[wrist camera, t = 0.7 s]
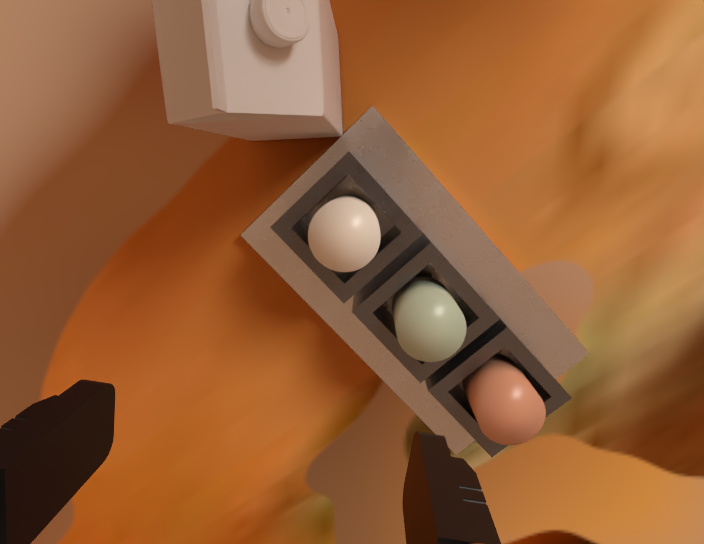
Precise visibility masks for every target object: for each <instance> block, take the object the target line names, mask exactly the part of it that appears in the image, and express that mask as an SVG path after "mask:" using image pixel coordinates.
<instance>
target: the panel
mask: <svg viewBox="0 0 704 544" xmlns="http://www.w3.org/2000/svg"><path fill="white" fill-rule="evenodd" d="M341 195H354V196H358V197H360V198H362V199H364V200H366V201H367V202H368V203H369V204H370V205H371V206H372V207H373V209H374V210H375V212H376V214H377V217H378V222H379V227H380V233H381V239H380V245H379V248H378V251H377V253H376V255H375V256H374V258H373V259H372V260H371V261H370V262H369V263H368V264H367V265H366V266H364V267H362V268H360V269H358V270H355V271H351V272H338V271H334V270H331V269H329V268H327V267H325V266H324V265H322V264H321V263H320V262H319V261H318V260H317V259H316V258H315V257H314V255H313V253H312V251H311V249H310V246H309V242H308V229H309V225H310V222H311V220H312V218H313V216H314V215H315V214H316V212H317V211H318V210H319V209H320V208H321V207H323V206H324V205H325V204H326V203H327V202H328V201H330V200H331V199H333V198H335V197H337V196H341ZM241 236H242V237H243V238H244V239H245V240H246V241H247V243H248V244H249V245H250V246H251V247H252V248H253V249H254V250H255V251H256V252H257V253H258V254H259V255H260V256H261V257H262V258H263V259H264V260H265V261H266V262H267V263H268V264H269V265H270V266H271V267H272V268H273V269H274V270H275V271H276V272H277V273H278V274H279V275H280V276H281V277H282V278H283V279H284V280H285V281H286V282H287V283H288V284H289V285H290V286H291V287H292V288H293V289H294V290H295V291H296V292H297V293H298V294H299V296H300V297H301V298H302V299H303V300H304V301H305V302H306V303H307V304H308V305H309V306H310V307H311V308H312V309H313V310H314V311H315V312H316V313H317V314H318V315H319V316H320V317H321V318H322V319H323V320H324V321H325V322H326V323H327V324H328V325H329V326H330V327H331V328H332V329H333V330H334V331H335V332H336V333H337V334H338V335H339V336H340V337H341V338H342V339H343V340H344V341H345V342H346V343H347V344H348V345H349V346H350V348H351V349H352V350H353V351H354V352H355V353H356V354H357V355H358V356H359V357H360V358H361V359H362V360H363V361H364V362H365V363H366V364H367V365H368V366H369V367H370V368H371V369H372V370H373V371H374V372H375V373H376V374H377V375H378V376H379V377H380V378H381V379H382V380H383V381H384V382H385V383H386V384H387V385H388V386H389V387H390V388H391V389H392V390H393V391H394V392H395V393H396V394H397V395H398V396H399V397H400V398H401V399H402V400H403V402H404V403H405V404H407V406H408V407H409V408H410V409H411V410H412V411H413V412H414V413H415V414H416V415H417V416H418V417H419V418H420V419H421V420H422V421H423V422H424V423H425V424H426V425H427V426H428V427H429V428H430V429H431V430H432V431H433V432H434V433H435V434H436V435H442V436H445V438H446V442H447V445H448V447H449V448H450V449H451V450H452V451H453V453H454V454H455V455H457V454H458V453H459V452H461V451H462V450H463V449H465V448H466V447H467V446H469V445H470V444H471V443H473V442H474V441H475V440H476V441H477V442H478V443H479V444H480V445H481V446H482V447H483V449H484V450H485V451H486V452H487V453H488V454H489V455H490V456H491V457H493V456H494V455H496V454H497V453H498V452H500V451H501V450H502V449H504V448H505V447H507V446H508V445H503V444H499V443H496V442H494V441H492V440H490V439H489V438H488V437H486V436H485V435H484V433H483V432H482V430H481V429H480V427H479V424H478V422H477V420H476V417H475V415H474V413H473V410H472V408H471V405H470V403H469V401H468V398H467V396H466V394H465V391H464V389H463V385H462V380H463V379H465V378H466V377H467V376H468V375H470V374H471V373H472V372H473V371H475V370H476V369H477V368H478V367H480V366H481V365H482V364H483V363H485V362H486V361H487V360H488V359H490V358H491V357H492V356H494V355H495V354H502V355H504V356H507V357H509V358H510V359H511V360H513V361H514V362H515V364H516V365H517V366H518V368H519V369H520V370H521V372H522V373H523V374H524V376H525V377H526V378H527V380H528V381H529V382H530V384H531V385H532V386H533V388H534V389H535V390H536V392H537V393H538V394H539V396H540V397H541V399H542V400H543V402H544V405H545V409H546V417H547V416H548V415H550V414H551V413H552V412H554V411H555V410H556V409H558V408H559V407H560V406H562V405H563V404H564V403H566V402H567V401H568V400H570V399H571V397H570V395H569V394H568V393H567V392H566V391H565V390H564V389H563V387H562V386H561V385H560V384H559V383H558V382H557V381H556V379H557V378H558V377H560V376H561V375H562V374H564V373H565V372H566V371H567V370H569V369H570V368H571V367H573V366H574V365H575V364H577V363H578V362H579V361H581V360H582V359H583V358H585V357H586V356H587V355H589V354H590V353H589V352H588V351H587V350H586V349H585V347H584V346H583V345H582V344H581V343H580V342H579V341H578V339H577V338H576V337H575V336H574V335H573V334H572V333H571V331H570V330H569V329H568V328H567V327H566V326H565V325H564V323H563V322H562V321H561V320H560V319H559V318H558V317H557V316H556V314H555V313H554V312H553V311H552V310H551V309H550V308H549V306H548V305H547V304H546V303H545V302H544V301H543V299H542V298H541V297H540V296H539V295H538V294H537V293H536V292H535V290H533V288H532V287H531V286H530V285H529V283H528V282H527V281H526V280H525V279H524V278H523V277H522V276H521V274H520V273H519V272H518V271H517V270H516V269H515V267H514V266H513V265H512V264H511V263H510V262H509V261H508V259H507V258H506V257H505V256H504V255H503V254H502V253H501V251H500V250H499V249H498V248H497V247H496V246H495V245H494V243H493V242H492V241H491V240H490V239H489V238H488V237H487V235H486V234H485V233H484V232H483V231H482V230H481V229H480V227H479V226H478V225H477V224H476V223H475V222H474V221H473V219H472V218H471V217H470V216H469V215H468V214H467V213H466V211H465V210H464V209H463V208H462V207H461V206H460V205H459V203H458V202H457V201H456V200H455V199H454V198H453V197H452V195H451V194H450V193H449V192H448V191H447V190H446V189H445V187H444V186H443V185H442V184H441V183H440V182H439V181H438V179H437V178H436V177H435V176H434V175H433V174H432V173H431V172H430V170H429V169H428V168H427V167H426V166H425V165H424V164H423V162H422V161H421V160H420V159H419V158H418V157H417V156H416V154H415V153H414V152H413V151H412V150H411V149H410V148H409V146H408V145H407V144H406V143H405V142H404V141H403V140H402V138H401V137H400V136H399V135H398V134H397V133H396V132H395V130H394V129H393V128H392V127H391V126H390V125H389V124H388V122H387V121H386V120H385V119H384V118H383V117H382V116H381V114H380V113H379V112H378V111H377V110H376V109H375V108H374V106H372V107H371V108H370V109H369V110H368V111H367V112H366V113H365V114H364V115H363V116H362V117H361V118H360V119H359V120H358V121H357V122H355V123H354V124H353V125H352V126H351V127H350V128H349V129H348V130H347V131H346V132H345V133H344V134H343V135H342V136H341V137H340V138H339V139H338V140H337V141H336V142H335V143H334V144H333V145H332V146H331V147H330V148H329V149H328V150H327V151H326V152H325V153H324V154H323V155H322V156H321V157H320V158H319V159H318V160H317V161H316V162H315V163H314V164H313V165H312V166H310V167H309V168H308V169H307V170H306V171H305V172H304V173H303V174H302V175H301V176H300V177H299V178H298V179H297V180H296V181H295V182H294V183H293V184H292V185H291V186H290V187H289V188H288V189H287V190H286V191H285V192H284V193H283V194H282V195H281V196H280V197H279V198H278V199H277V200H276V201H275V202H274V203H273V204H272V205H271V206H270V207H269V208H268V209H267V210H266V211H264V212H263V213H262V214H261V215H260V216H259V217H258V218H257V219H256V220H255V221H254V222H253V223H252V224H251V225H250V226H249V227H248V228H247V229H246V230H245V231H244V232H243V233H242V234H241ZM416 277H429V278H433V279H436V280H438V281H439V282H441V283H442V284H443V285H444V286H445V287H446V288H447V289H448V291H449V293H450V294H451V296H452V297H453V299H454V300H455V302H456V303H457V305H458V307H459V308H460V310H461V311H462V313H463V315H464V317H465V321H466V336H465V339H464V341H463V343H462V345H461V347H460V348H459V349H458V350H457V351H456V352H455V353H454V354H453V355H451V356H450V357H448V358H446V359H444V360H441V361H437V362H424V361H420V360H417V359H415V358H413V357H411V356H410V355H408V354H407V353H406V352H405V351H404V350H403V349H402V347H401V346H400V344H399V342H398V339H397V335H396V329H395V323H394V317H393V311H392V301H393V297H394V295H395V293H396V292H397V291H398V290H399V289H400V288H402V287H403V286H404V285H405V284H406V283H407V282H408V281H410V280H411V279H412V278H416Z"/></svg>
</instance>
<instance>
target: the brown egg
mask: <svg viewBox="0 0 704 544" xmlns="http://www.w3.org/2000/svg"><path fill="white" fill-rule="evenodd" d="M462 385H463V389H464V391H465V394H466V396H467V398H468V401H469V403H470V405H471V408H472V410H473V413H474V415H475V417H476V420H477V422H478V424H479V427H480V429H481V430H482V432H483V433H484V435H485V436H486V437H488V438H489V439H490V440H492V441H494V442H496V443H499V444H503V445H517V444H521V443H524V442H526V441H528V440H530V439H531V438H533V437H534V436H535V435H536V434H537V433H538V432H539V431H540V429H541V428H542V426H543V424H544V421H545V417H546V409H545V405H544V402H543V400H542V399H541V397H540V396H539V394H538V393H537V392H536V390H535V389H534V388H533V386H532V385H531V384H530V382H529V381H528V380H527V378H526V377H525V376H524V374H523V373H522V372H521V370H520V369H519V368H518V366H517V365H516V364H515V362H514V361H513V360H511V359H510V358H509V357H507V356H504V355H502V354H495V355H494V356H492V357H491V358H490V359H488V360H487V361H486V362H485V363H483V364H482V365H481V366H480V367H478V368H477V369H476V370H475V371H473V372H472V373H471V374H470V375H468V376H467V377H466V378H465V379H463V380H462Z"/></svg>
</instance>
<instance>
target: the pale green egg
mask: <svg viewBox="0 0 704 544" xmlns="http://www.w3.org/2000/svg"><path fill="white" fill-rule="evenodd" d="M392 311H393V317H394V323H395V329H396V335H397V339H398V342H399V344H400V346H401V347H402V349H403V350H404V351H405V352H406V353H407V354H408V355H410V356H411V357H413V358H415V359H417V360H420V361H424V362H437V361H441V360H444V359H446V358H448V357H450V356H451V355H453V354H454V353H455V352H456V351H457V350H458V349H459V348H460V347H461V345H462V343H463V341H464V339H465V336H466V321H465V317H464V315H463V313H462V311H461V310H460V308H459V307H458V305H457V303H456V302H455V300H454V299H453V297H452V296H451V294H450V293H449V291H448V289H447V288H446V287H445V286H444V285H443V284H442V283H441V282H439V281H438V280H436V279H433V278H429V277H416V278H412V279H411V280H410V281H408V282H407V283H406V284H405V285H404V286H403V287H402V288H400V289H399V290H398V291H397V292H396V293H395V295H394V297H393V301H392Z"/></svg>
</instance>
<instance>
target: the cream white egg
mask: <svg viewBox="0 0 704 544" xmlns="http://www.w3.org/2000/svg"><path fill="white" fill-rule="evenodd" d="M380 239H381V233H380V227H379V222H378V217H377V214H376V212H375V210H374V209H373V207H372V206H371V205H370V204H369V203H368V202H367V201H366V200H364V199H362V198H360V197H358V196H354V195H341V196H337V197H335V198H333V199H331V200H330V201H328V202H327V203H326V204H325V205H324V206H323V207H321V208H320V209H319V210H318V211H317V212H316V214H315V215H314V216H313V218H312V220H311V222H310V225H309V229H308V242H309V246H310V249H311V251H312V253H313V255H314V257H315V258H316V259H317V260H318V261H319V262H320V263H321V264H322V265H324V266H325V267H327V268H329V269H331V270H334V271H338V272H351V271H355V270H358V269H360V268H362V267H364V266H366V265H367V264H368V263H369V262H370V261H371V260H372V259H373V258H374V256H375V255H376V253H377V251H378V248H379V245H380Z"/></svg>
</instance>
